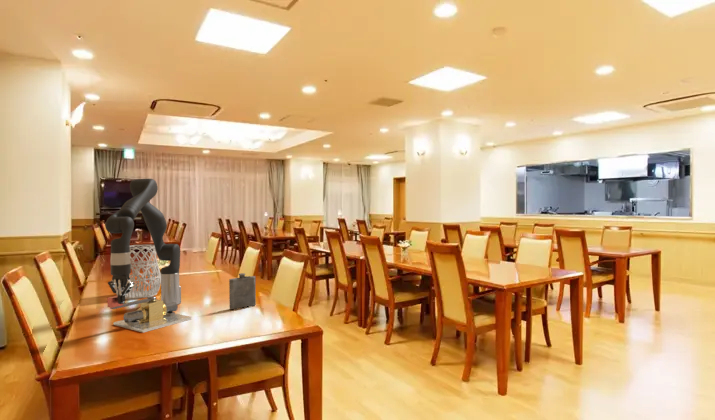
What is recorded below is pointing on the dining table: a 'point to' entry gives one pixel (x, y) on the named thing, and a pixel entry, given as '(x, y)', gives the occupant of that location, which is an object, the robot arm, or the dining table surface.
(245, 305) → the flask
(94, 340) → the dining table surface
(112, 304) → the lever
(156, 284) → the vase
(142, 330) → the valve
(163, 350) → the dining table surface
